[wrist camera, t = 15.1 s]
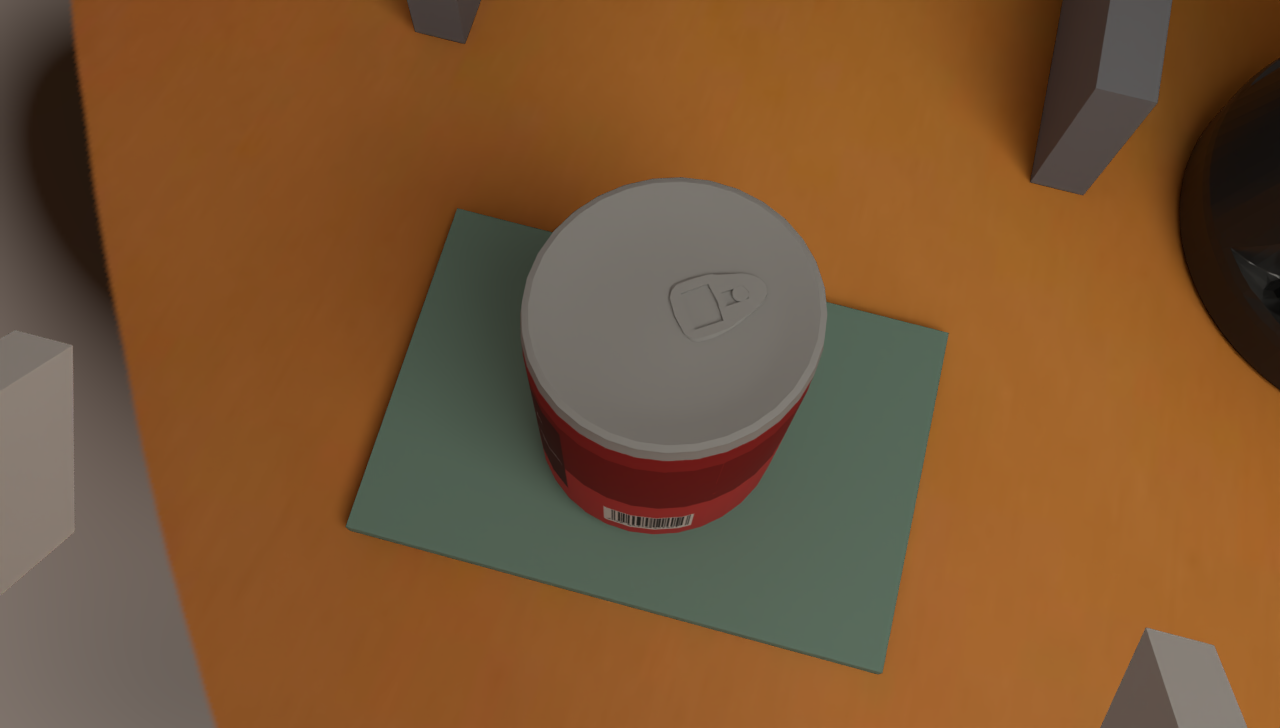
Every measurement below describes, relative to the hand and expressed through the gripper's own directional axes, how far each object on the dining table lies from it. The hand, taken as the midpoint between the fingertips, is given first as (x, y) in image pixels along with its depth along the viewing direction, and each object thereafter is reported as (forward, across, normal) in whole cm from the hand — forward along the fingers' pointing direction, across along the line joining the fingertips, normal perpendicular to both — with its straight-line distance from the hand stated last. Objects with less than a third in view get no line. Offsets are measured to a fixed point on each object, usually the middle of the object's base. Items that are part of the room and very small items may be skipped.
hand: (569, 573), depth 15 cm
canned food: (+25, -1, -11) cm, 27 cm away
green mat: (+25, -1, -11) cm, 27 cm away
